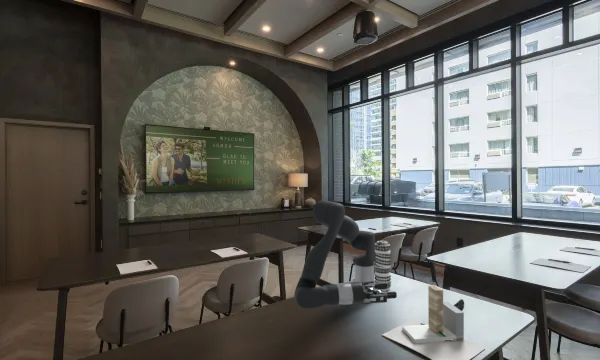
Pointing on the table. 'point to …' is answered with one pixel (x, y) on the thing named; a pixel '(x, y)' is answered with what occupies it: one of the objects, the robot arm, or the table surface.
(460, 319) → the base
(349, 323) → the table surface
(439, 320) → the tan rectangular box
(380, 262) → the decorative candle
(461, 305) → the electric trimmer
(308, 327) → the table surface
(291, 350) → the table surface
